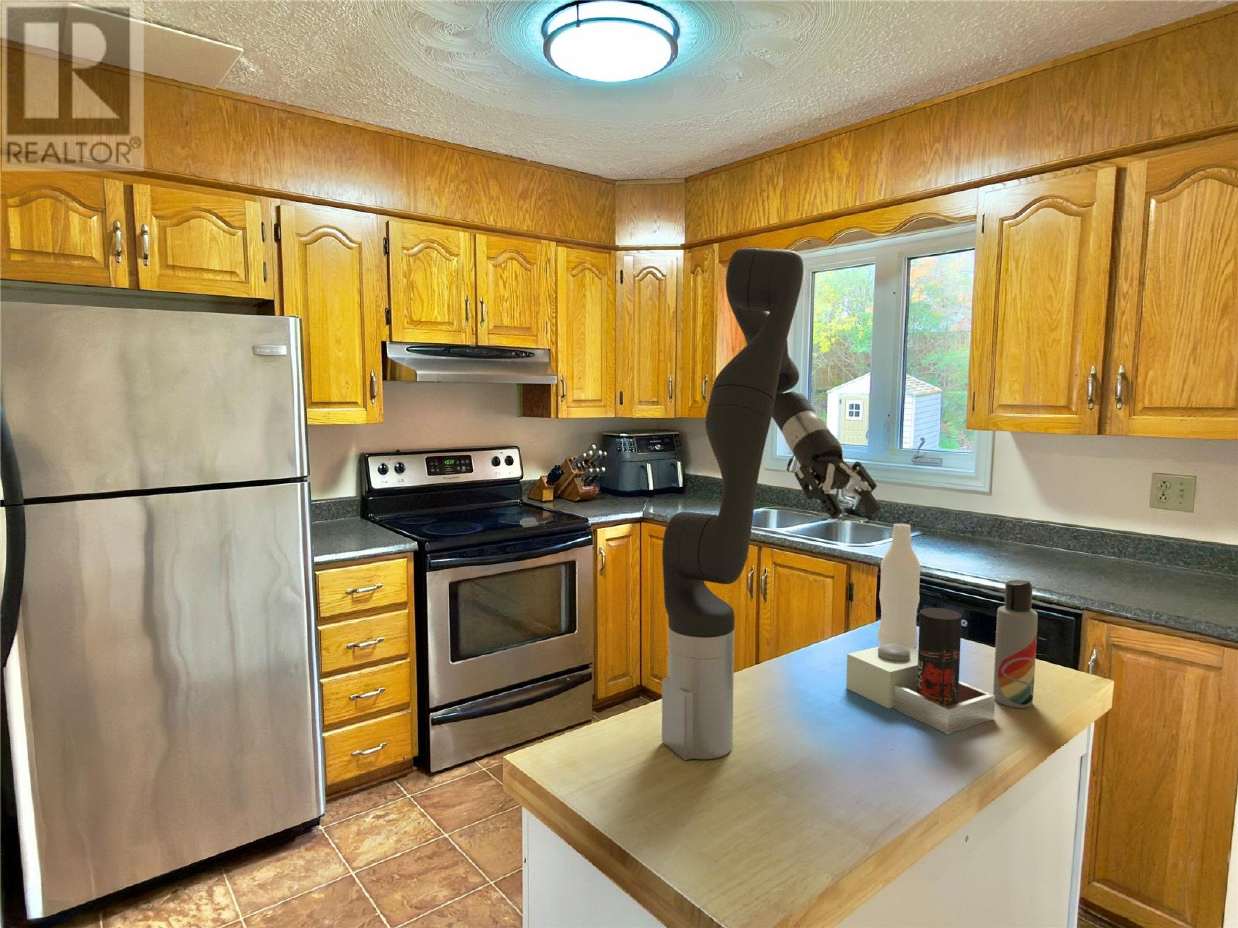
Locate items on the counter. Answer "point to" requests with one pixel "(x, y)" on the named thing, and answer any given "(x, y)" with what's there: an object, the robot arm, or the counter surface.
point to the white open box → (946, 708)
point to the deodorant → (939, 655)
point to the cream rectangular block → (882, 671)
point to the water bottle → (899, 591)
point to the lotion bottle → (1015, 647)
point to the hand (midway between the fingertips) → (857, 514)
